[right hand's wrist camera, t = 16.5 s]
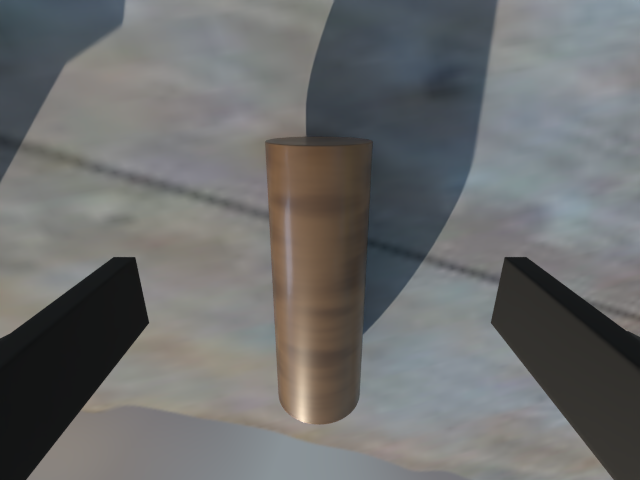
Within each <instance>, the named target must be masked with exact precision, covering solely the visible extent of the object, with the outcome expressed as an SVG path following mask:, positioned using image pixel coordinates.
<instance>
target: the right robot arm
mask: <svg viewBox="0 0 640 480" xmlns="http://www.w3.org/2000/svg"><path fill="white" fill-rule="evenodd" d="M148 324H149V320H148V316H147V311H146V306H145V301H144V297H143V292H142V287H141V282H140V278H139V273H138V268H137V263H136V259H135V257H113V258H112V259H111V260H109V261H108V262H107V263H105V264H104V265H102V266H101V267H100V268H98V269H97V270H96V271H94V272H93V273H92V274H90V275H89V276H88V277H86V278H85V279H83V280H82V281H81V282H79V283H78V284H77V285H75V286H74V287H73V288H71V289H70V290H69V291H67V292H66V293H65V294H63V295H62V296H60V297H59V298H58V299H56V300H55V301H54V302H52V303H51V304H50V305H48V306H47V307H46V308H44V309H43V310H42V311H40V312H39V313H37V314H36V315H35V316H33V317H32V318H31V319H29V320H28V321H27V322H25V323H24V324H23V325H21V326H20V327H19V328H17V329H16V330H14V331H13V332H12V333H10V334H8V335H6V336H4V337H2V338H0V480H26V479H27V478H28V477H29V475H30V474H31V473H32V472H33V470H34V469H35V468H36V466H37V465H38V464H39V463H40V461H41V460H42V459H43V458H44V456H45V455H46V454H47V452H48V451H49V450H50V448H51V447H52V446H53V445H54V443H55V442H56V441H57V440H58V438H59V437H60V436H61V435H62V433H63V432H64V431H65V429H66V428H67V427H68V426H69V424H70V423H71V422H72V421H73V419H74V418H75V417H76V415H77V414H78V413H79V412H80V410H81V409H82V408H83V406H84V405H85V404H86V403H87V401H88V400H89V399H90V398H91V396H92V395H93V394H94V392H95V391H96V390H97V389H98V387H99V386H100V385H101V384H102V382H103V381H104V380H105V378H106V377H107V376H108V375H109V373H110V372H111V371H112V369H113V368H114V367H115V366H116V364H117V363H118V362H119V361H120V359H121V358H122V357H123V355H124V354H125V353H126V352H127V350H128V349H129V348H130V347H131V345H132V344H133V343H134V341H135V340H136V339H137V338H138V336H139V335H140V334H141V333H142V331H143V330H144V329H145V327H146V326H147V325H148ZM491 324H492V325H493V326H494V327H495V329H496V330H497V331H498V333H499V334H500V335H501V336H502V338H503V339H504V340H505V341H506V343H507V344H508V345H509V347H510V348H511V349H512V350H513V352H514V353H515V354H516V355H517V357H518V358H519V359H520V361H521V362H522V363H523V364H524V366H525V367H526V368H527V369H528V371H529V372H530V373H531V375H532V376H533V377H534V378H535V380H536V381H537V382H538V384H539V385H540V386H541V387H542V389H543V390H544V391H545V392H546V394H547V395H548V396H549V398H550V399H551V400H552V401H553V403H554V404H555V405H556V406H557V408H558V409H559V410H560V412H561V413H562V414H563V415H564V417H565V418H566V419H567V421H568V422H569V423H570V424H571V426H572V427H573V428H574V429H575V431H576V432H577V433H578V435H579V436H580V437H581V438H582V440H583V441H584V442H585V443H586V445H587V446H588V447H589V449H590V450H591V451H592V452H593V454H594V455H595V456H596V458H597V459H598V460H599V461H600V463H601V464H602V465H603V466H604V468H605V469H606V470H607V472H608V473H609V474H610V475H611V477H612V478H613V479H614V480H640V337H639V336H637V335H635V334H633V333H631V332H629V331H626V330H624V329H623V328H621V327H620V326H619V325H617V324H616V323H615V322H613V321H612V320H611V319H609V318H608V317H607V316H605V315H604V314H603V313H601V312H600V311H598V310H597V309H596V308H594V307H593V306H592V305H590V304H589V303H588V302H586V301H585V300H584V299H582V298H581V297H580V296H578V295H577V294H575V293H574V292H573V291H571V290H570V289H569V288H567V287H566V286H565V285H563V284H562V283H561V282H559V281H558V280H557V279H555V278H554V277H552V276H551V275H550V274H548V273H547V272H546V271H544V270H543V269H542V268H540V267H539V266H538V265H536V264H535V263H533V262H532V261H531V260H529V259H528V258H527V257H505V259H504V263H503V268H502V273H501V278H500V282H499V287H498V292H497V297H496V301H495V306H494V311H493V316H492V320H491Z"/></svg>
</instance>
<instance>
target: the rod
mask: <svg viewBox="0 0 640 480" xmlns="http://www.w3.org/2000/svg"><path fill="white" fill-rule="evenodd" d="M372 145H373V142H372V141H371V140H368V139H361V138H349V137H289V138H277V139H270V140H267V141H266V142H265V147H266V165H267V184H268V203H269V222H270V241H271V260H272V279H273V298H274V317H275V336H276V355H277V374H278V393H279V400H280V403H281V405H282V407H283V408H284V409H285V411H286V412H287V413H288V414H289V415H291V416H292V417H294V418H295V419H297V420H299V421H302V422H305V423H309V424H329V423H333V422H336V421H339V420H341V419H343V418H344V417H346V416H347V415H349V414H350V413H351V412H352V411H353V410H354V408H355V407H356V405H357V403H358V400H359V395H360V377H361V358H362V338H363V319H364V300H365V280H366V261H367V242H368V222H369V203H370V184H371V165H372Z"/></svg>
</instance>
